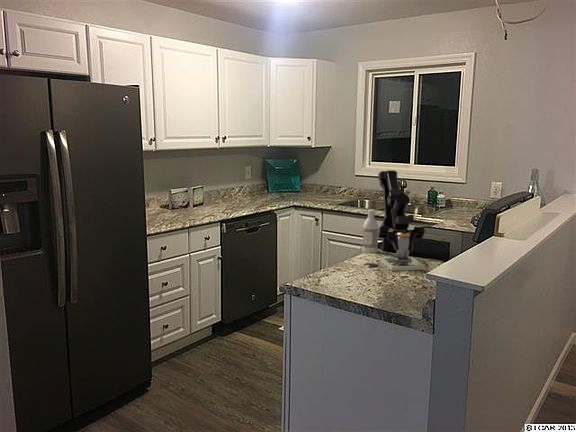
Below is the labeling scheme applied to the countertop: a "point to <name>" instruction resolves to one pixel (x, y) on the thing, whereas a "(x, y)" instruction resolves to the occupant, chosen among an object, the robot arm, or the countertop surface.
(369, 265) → the stud
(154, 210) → the countertop surface
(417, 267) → the bin
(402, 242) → the grey and gold cylinder
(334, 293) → the countertop surface
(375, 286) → the countertop surface
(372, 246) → the bath foam
